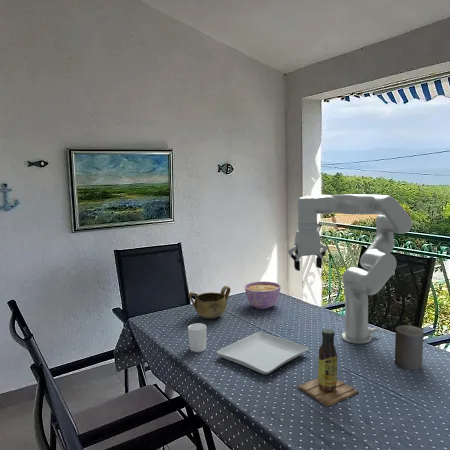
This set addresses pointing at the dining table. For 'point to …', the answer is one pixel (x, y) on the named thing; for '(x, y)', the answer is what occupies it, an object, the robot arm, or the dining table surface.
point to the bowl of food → (262, 294)
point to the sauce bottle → (327, 362)
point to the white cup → (197, 337)
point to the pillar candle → (409, 347)
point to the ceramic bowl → (210, 303)
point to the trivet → (328, 392)
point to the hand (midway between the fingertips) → (308, 268)
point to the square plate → (262, 352)
